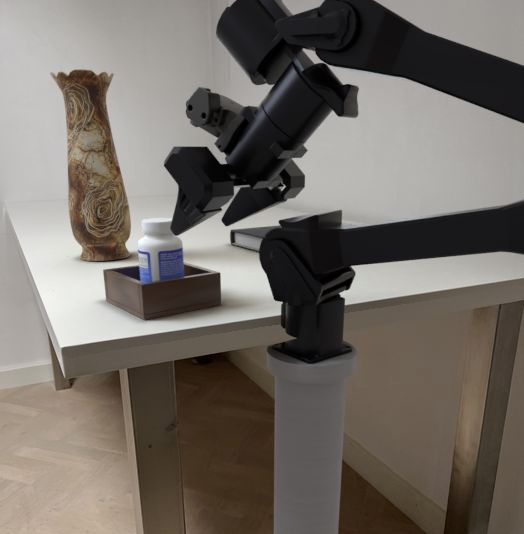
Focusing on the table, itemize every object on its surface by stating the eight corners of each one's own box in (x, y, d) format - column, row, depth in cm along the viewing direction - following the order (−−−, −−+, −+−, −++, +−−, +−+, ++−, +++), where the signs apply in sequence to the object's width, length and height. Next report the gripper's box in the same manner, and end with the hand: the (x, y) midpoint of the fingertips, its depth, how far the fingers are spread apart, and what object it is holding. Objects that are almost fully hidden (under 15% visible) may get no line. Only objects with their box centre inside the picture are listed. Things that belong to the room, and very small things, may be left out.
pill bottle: (189, 293, 72) (186, 217, 68) (179, 304, 67) (175, 222, 63) (148, 292, 72) (143, 216, 69) (136, 303, 67) (129, 222, 64)
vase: (112, 264, 93) (93, 66, 83) (60, 260, 97) (35, 69, 87) (144, 253, 103) (130, 74, 93) (95, 250, 106) (77, 77, 96)
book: (313, 235, 124) (313, 222, 123) (358, 244, 112) (359, 229, 111) (229, 244, 113) (229, 229, 112) (270, 255, 101) (270, 238, 100)
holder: (221, 304, 69) (220, 272, 68) (144, 320, 63) (141, 284, 61) (178, 289, 77) (176, 259, 75) (106, 301, 71) (102, 269, 69)
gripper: (283, 70, 62) (209, 171, 71) (173, 46, 47) (97, 177, 57) (344, 145, 61) (260, 238, 70) (250, 143, 46) (159, 261, 55)
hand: (200, 227), depth 63 cm, fingers open, 9 cm apart
